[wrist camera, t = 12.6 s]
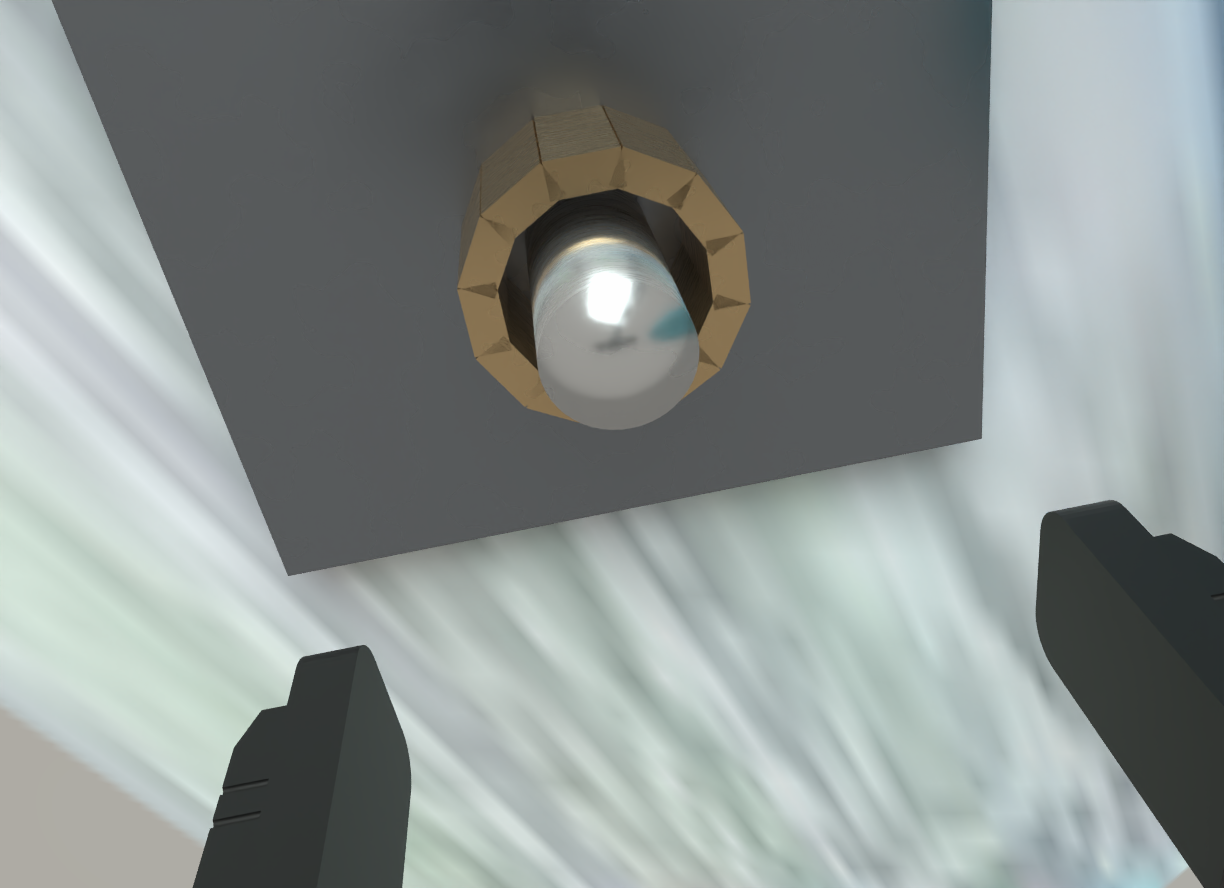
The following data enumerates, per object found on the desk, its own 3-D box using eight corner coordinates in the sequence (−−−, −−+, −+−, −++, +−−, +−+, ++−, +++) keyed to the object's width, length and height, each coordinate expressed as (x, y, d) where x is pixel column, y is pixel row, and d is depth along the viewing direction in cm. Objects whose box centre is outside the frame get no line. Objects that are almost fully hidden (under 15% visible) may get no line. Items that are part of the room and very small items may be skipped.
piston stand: (958, -220, 23) (1206, -265, 15) (953, 406, 31) (1112, 590, 23) (68, -50, 22) (-155, -6, 15) (299, 535, 30) (234, 766, 23)
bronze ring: (696, 86, 23) (732, 124, 20) (724, 324, 26) (760, 394, 23) (438, 136, 23) (430, 183, 20) (496, 369, 26) (497, 446, 23)
